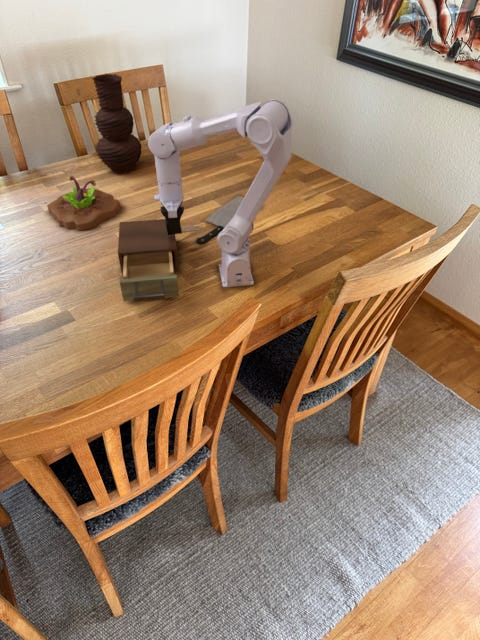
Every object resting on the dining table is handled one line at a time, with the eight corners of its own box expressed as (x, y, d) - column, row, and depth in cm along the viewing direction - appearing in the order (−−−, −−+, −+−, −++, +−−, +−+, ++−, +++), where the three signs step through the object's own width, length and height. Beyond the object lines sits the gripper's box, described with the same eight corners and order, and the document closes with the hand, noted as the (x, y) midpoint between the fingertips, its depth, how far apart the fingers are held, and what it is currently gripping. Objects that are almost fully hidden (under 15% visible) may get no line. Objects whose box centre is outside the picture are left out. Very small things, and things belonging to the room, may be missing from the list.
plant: (90, 189, 154) (83, 157, 146) (129, 209, 145) (123, 175, 137) (38, 213, 142) (26, 179, 135) (76, 236, 134) (67, 201, 126)
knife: (167, 235, 119) (165, 224, 117) (167, 230, 121) (165, 219, 119) (202, 230, 120) (200, 220, 117) (201, 225, 121) (199, 215, 119)
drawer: (180, 312, 109) (178, 293, 105) (122, 317, 108) (118, 298, 104) (175, 263, 123) (173, 245, 119) (124, 267, 121) (121, 249, 117)
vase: (92, 175, 161) (71, 82, 141) (113, 157, 172) (97, 68, 151) (132, 181, 158) (117, 88, 137) (151, 162, 169) (140, 73, 148)
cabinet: (179, 272, 122) (176, 248, 117) (122, 277, 120) (117, 253, 115) (175, 241, 132) (173, 218, 127) (124, 245, 130) (119, 222, 125)
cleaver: (177, 234, 135) (203, 246, 130) (177, 232, 134) (203, 244, 130) (238, 196, 152) (263, 205, 147) (238, 194, 151) (263, 204, 147)
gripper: (152, 166, 115) (158, 214, 124) (152, 194, 104) (159, 244, 114) (180, 164, 115) (184, 212, 125) (184, 192, 105) (187, 242, 114)
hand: (174, 227), depth 119 cm, fingers closed on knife, 2 cm apart
